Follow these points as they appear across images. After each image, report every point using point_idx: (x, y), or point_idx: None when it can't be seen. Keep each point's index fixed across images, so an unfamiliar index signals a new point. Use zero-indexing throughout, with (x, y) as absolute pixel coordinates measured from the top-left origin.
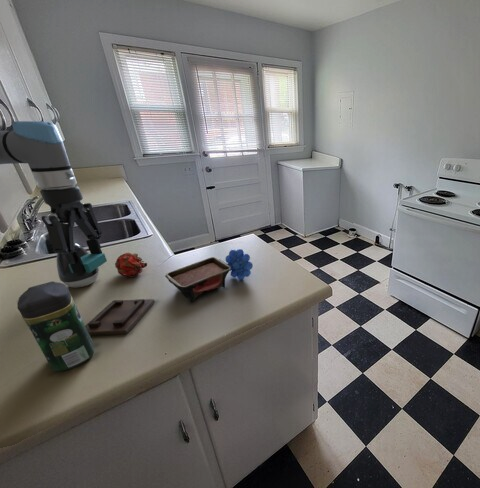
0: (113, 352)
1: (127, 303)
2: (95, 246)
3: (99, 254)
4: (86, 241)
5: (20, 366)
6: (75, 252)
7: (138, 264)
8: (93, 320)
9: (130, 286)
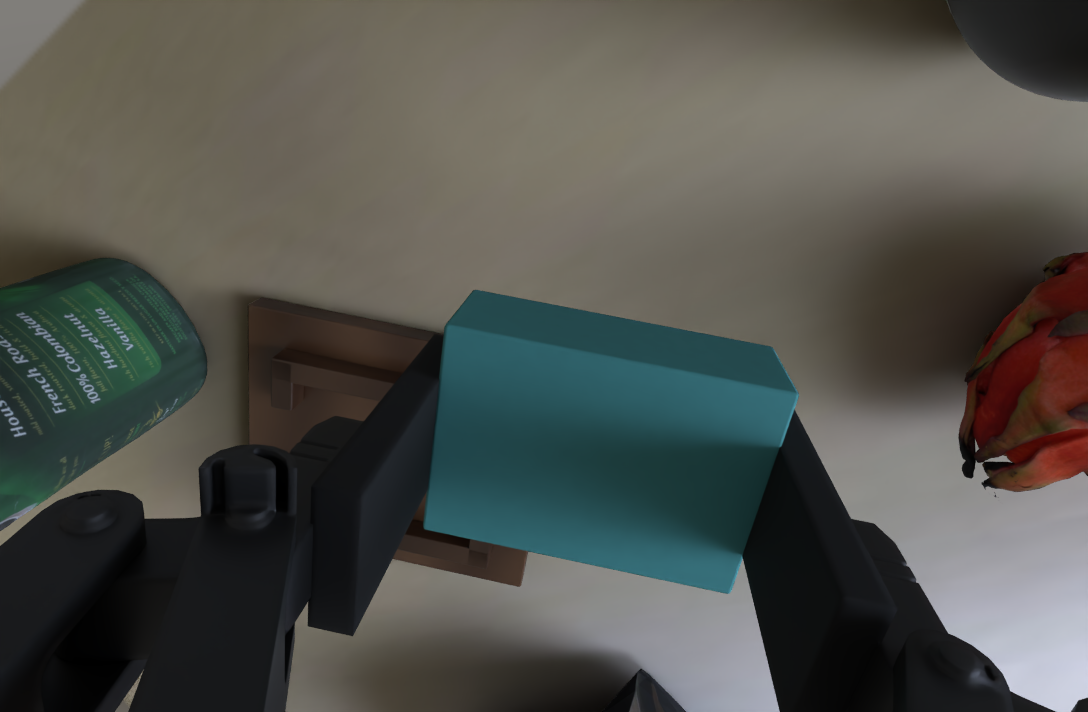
0: (146, 494)
1: None
2: (770, 615)
3: (708, 556)
4: (834, 596)
5: (53, 124)
6: (312, 611)
7: (1017, 486)
8: (302, 374)
9: (799, 384)
